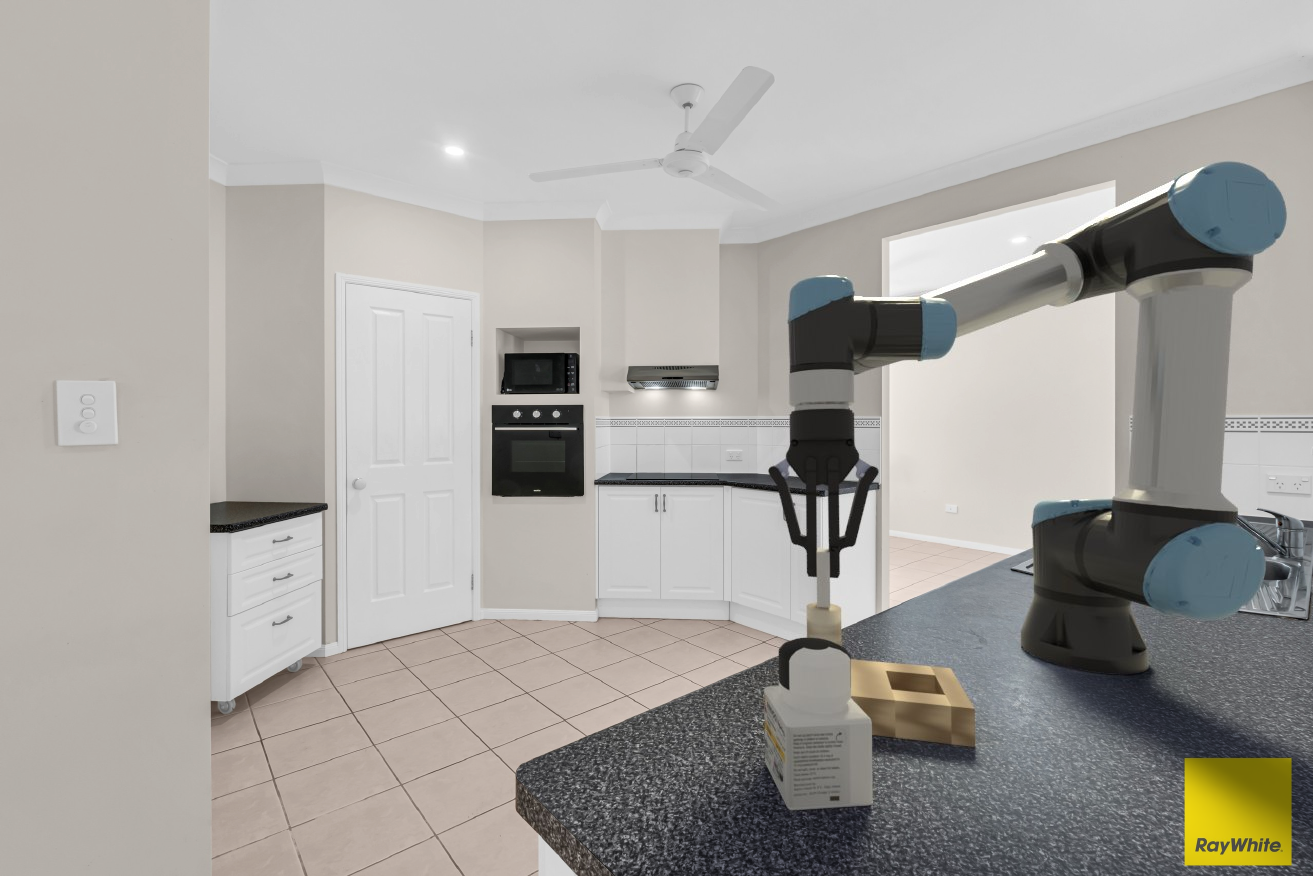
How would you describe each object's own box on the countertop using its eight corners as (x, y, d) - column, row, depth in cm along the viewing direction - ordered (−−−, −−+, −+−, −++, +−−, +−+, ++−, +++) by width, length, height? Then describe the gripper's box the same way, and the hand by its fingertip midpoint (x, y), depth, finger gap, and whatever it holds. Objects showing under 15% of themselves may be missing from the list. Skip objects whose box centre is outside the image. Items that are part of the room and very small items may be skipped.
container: (763, 762, 57) (762, 632, 57) (838, 758, 58) (837, 629, 58) (788, 812, 49) (786, 662, 50) (874, 807, 50) (872, 658, 50)
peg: (843, 717, 66) (842, 613, 66) (807, 713, 67) (805, 611, 68) (841, 701, 70) (840, 603, 70) (807, 697, 71) (806, 601, 71)
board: (950, 700, 70) (950, 668, 70) (975, 747, 60) (974, 708, 60) (784, 683, 76) (784, 653, 76) (779, 723, 65) (779, 688, 65)
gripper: (875, 409, 71) (877, 599, 71) (768, 411, 74) (770, 592, 74) (882, 405, 64) (884, 617, 64) (764, 408, 67) (766, 609, 67)
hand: (823, 603), depth 69 cm, fingers closed
